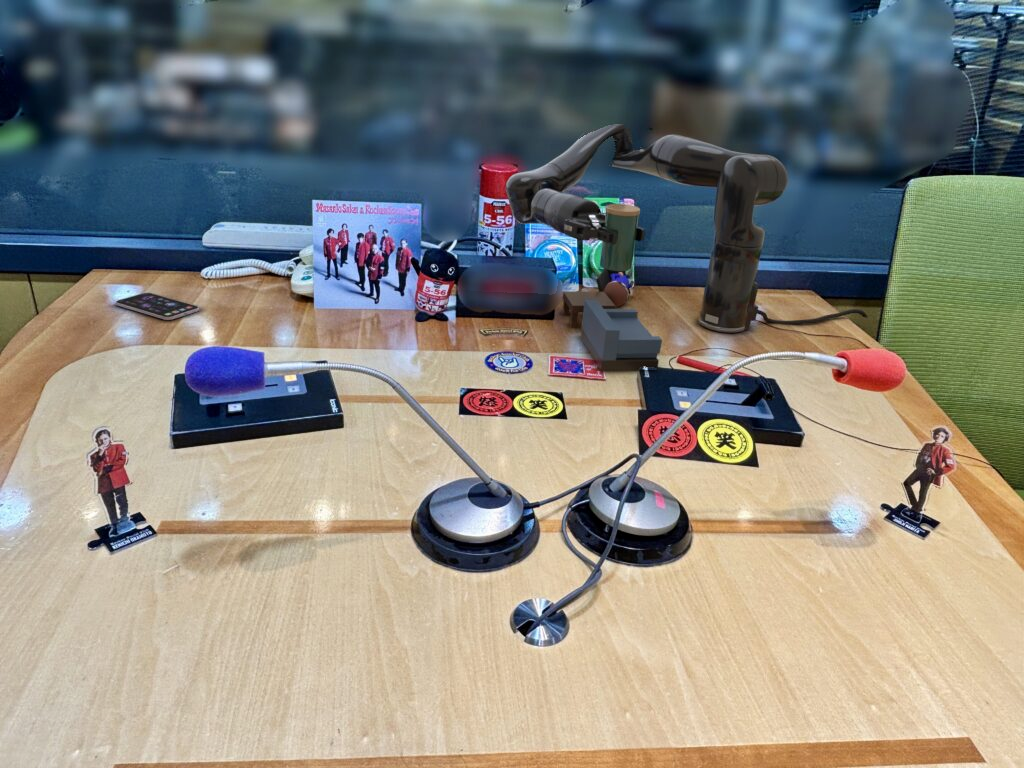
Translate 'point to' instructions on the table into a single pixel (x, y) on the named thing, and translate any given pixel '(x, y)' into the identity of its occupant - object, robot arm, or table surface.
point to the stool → (582, 303)
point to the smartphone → (157, 306)
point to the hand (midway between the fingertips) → (629, 237)
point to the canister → (620, 237)
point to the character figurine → (615, 285)
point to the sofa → (618, 338)
